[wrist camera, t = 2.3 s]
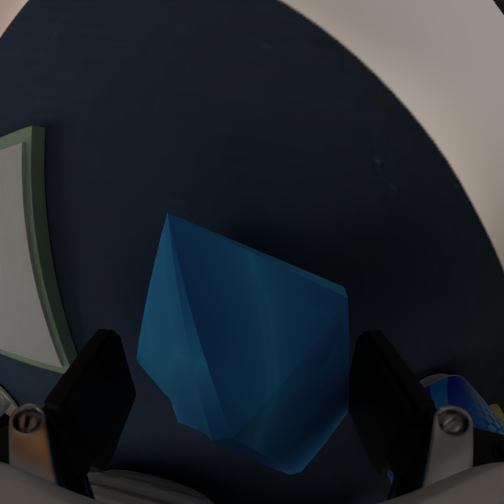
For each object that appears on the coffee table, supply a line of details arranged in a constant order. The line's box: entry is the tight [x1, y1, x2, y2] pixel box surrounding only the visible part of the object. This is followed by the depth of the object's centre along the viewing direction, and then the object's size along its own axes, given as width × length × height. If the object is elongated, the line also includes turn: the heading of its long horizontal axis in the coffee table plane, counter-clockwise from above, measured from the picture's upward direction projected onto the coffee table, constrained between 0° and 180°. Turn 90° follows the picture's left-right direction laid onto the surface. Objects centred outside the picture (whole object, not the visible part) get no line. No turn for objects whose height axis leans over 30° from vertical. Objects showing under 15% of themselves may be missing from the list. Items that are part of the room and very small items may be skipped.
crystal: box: [136, 213, 350, 475], centre depth 9 cm, size 8×9×12 cm
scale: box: [0, 126, 78, 374], centre depth 11 cm, size 14×8×2 cm, turn 179°
